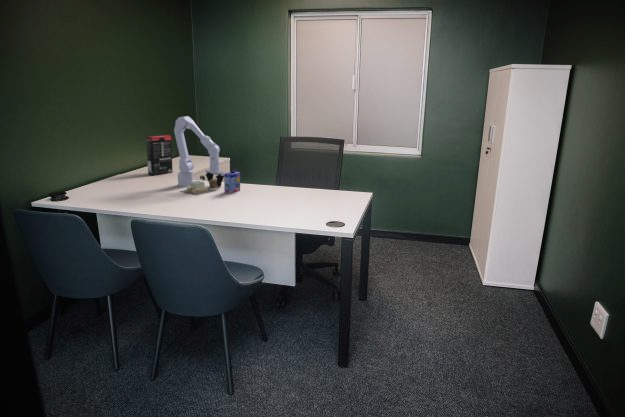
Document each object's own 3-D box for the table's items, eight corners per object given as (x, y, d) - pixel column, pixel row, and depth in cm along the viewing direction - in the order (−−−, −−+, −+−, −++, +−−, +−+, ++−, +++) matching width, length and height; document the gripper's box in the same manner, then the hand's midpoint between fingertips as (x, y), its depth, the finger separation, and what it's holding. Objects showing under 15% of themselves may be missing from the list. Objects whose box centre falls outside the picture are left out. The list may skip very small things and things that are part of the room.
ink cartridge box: (231, 194, 270) (230, 170, 266) (224, 193, 272) (223, 169, 268) (241, 191, 278) (240, 168, 274) (233, 190, 281) (233, 167, 277)
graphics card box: (167, 171, 331) (165, 134, 324) (173, 172, 327) (171, 135, 320) (147, 174, 318) (144, 136, 310) (153, 176, 314) (151, 137, 307)
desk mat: (178, 192, 271) (178, 191, 271) (198, 187, 284) (198, 186, 284) (196, 196, 263) (196, 195, 263) (216, 191, 276) (216, 190, 276)
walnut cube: (209, 187, 285) (209, 180, 284) (215, 186, 289) (215, 178, 288) (215, 188, 282) (214, 181, 281) (220, 187, 286) (220, 179, 285)
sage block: (190, 187, 272) (189, 182, 271) (197, 185, 277) (197, 180, 276) (197, 188, 269) (196, 183, 268) (204, 186, 274) (204, 182, 273)
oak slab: (186, 191, 272) (186, 187, 272) (197, 188, 279) (197, 184, 279) (197, 193, 267) (196, 189, 267) (208, 190, 275) (207, 186, 274)
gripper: (227, 164, 281) (227, 185, 285) (211, 162, 289) (211, 182, 292) (219, 166, 275) (219, 187, 279) (202, 163, 283) (203, 184, 287)
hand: (215, 185), depth 285 cm, fingers open, 7 cm apart
